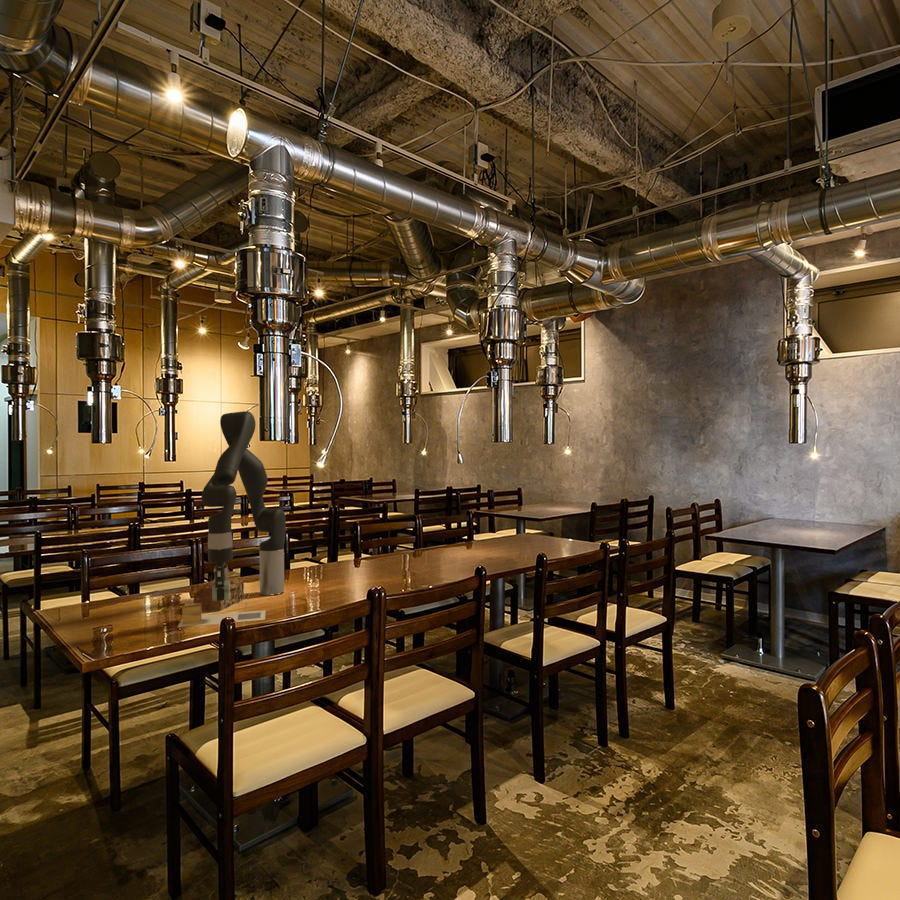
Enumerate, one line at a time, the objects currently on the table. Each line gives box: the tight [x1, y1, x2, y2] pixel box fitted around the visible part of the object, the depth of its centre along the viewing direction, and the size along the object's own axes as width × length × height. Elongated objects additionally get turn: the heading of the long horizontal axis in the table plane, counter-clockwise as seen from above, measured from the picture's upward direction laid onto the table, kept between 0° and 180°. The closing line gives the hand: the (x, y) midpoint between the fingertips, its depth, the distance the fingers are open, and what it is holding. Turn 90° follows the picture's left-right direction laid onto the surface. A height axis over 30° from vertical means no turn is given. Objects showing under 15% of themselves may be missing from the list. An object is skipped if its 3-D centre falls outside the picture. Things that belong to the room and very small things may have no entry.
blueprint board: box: [177, 610, 266, 628], centre depth 189 cm, size 12×26×1 cm, turn 107°
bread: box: [193, 577, 245, 612], centre depth 208 cm, size 19×11×10 cm, turn 175°
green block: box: [212, 581, 230, 601], centre depth 189 cm, size 5×5×5 cm
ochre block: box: [181, 603, 202, 624], centre depth 186 cm, size 5×5×5 cm
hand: (221, 597), depth 189 cm, fingers closed on green block, 5 cm apart
